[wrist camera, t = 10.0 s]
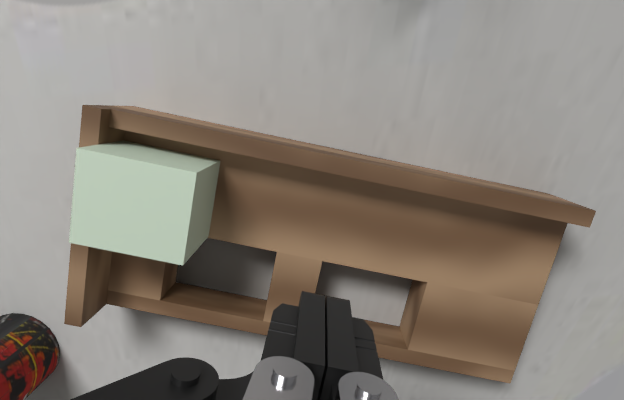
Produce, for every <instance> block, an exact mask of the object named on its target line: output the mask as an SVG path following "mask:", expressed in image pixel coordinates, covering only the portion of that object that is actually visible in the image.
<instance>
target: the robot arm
mask: <svg viewBox="0 0 624 400" xmlns="http://www.w3.org/2000/svg"><path fill="white" fill-rule="evenodd" d="M71 400H399V399H398V397H397V394H396V392H395V391H394V389H393V388H392V387H391V386H390V385H389V384H388V383H387V382H385V381H384V380H383V376H382V372H381V367H380V362H379V358H378V353H377V348H376V344H375V339H374V334H373V330H372V329H371V328H370V326H369V325H368V324H367V323H366V322H365V320H363V319H358V318H353V317H352V314H351V307H350V301H349V300H345V299H340V298H335V297H330V296H326V298H325V295H320V294H315V293H310V292H305V291H302V292H301V296H300V300H299V305H298V306H294V305H289V304H284V303H282V304H280V305H279V306H278V307H277V308H275V309H274V310H273V313H272V317H271V322H270V325H269V330H268V334H267V338H266V342H265V346H264V350H263V354H262V358H261V361H260V362H259V363H258V364H257V365H256V367H255V369H254V371H253V372H252V373H251V374H249V375H247V376H244V377H241V378H236V379H219V376H218V373H217V372H216V370H215V369H214V368H213V367H212V366H211V365H210V364H208V363H206V362H205V361H202V360H199V359H195V358H176V359H172V360H169V361H166V362H163V363H161V364H158V365H156V366H153V367H151V368H148V369H146V370H143V371H141V372H138V373H136V374H133V375H131V376H128V377H126V378H123V379H121V380H118V381H116V382H113V383H111V384H108V385H106V386H103V387H101V388H98V389H96V390H93V391H91V392H88V393H86V394H83V395H81V396H78V397H76V398H73V399H71Z"/></svg>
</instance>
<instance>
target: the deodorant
mask: <svg viewBox="0 0 624 400" xmlns="http://www.w3.org/2000/svg"><path fill="white" fill-rule="evenodd" d="M59 356H60V352H59V345H58V342H57V340H56V337H55V336H54V334H53V333H52V332H51V330H50V329H49V328H48V327H47V326H46V325H45V324H44V323H42V322H41V321H39V320H37V319H36V318H34V317H32V316H28V315H24V314H15V313H11V314H7V315H2V316H0V400H24V399H25V398H26V397H28V396H29V395H30V394H31V393H32V392H33V391H34V390H35V389H36V388H37V387H38V386H39V385H40V384H41V383H42V382H43V381H44V380H45V379H46V378H47V377H48V376H49V375H50V374H51V373H52V372H53V371H54V370H55V368H56V366H57V364H58V361H59Z"/></svg>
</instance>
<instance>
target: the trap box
mask: <svg viewBox="0 0 624 400" xmlns="http://www.w3.org/2000/svg"><path fill="white" fill-rule="evenodd" d="M118 141H129V142H133V143H138V144H143V145H148V146H153V147H157V148H162V149H167V150H172V151H177V152H181V153H186V154H191V155H196V156H201V157H206V158H210V159H215V160H220V167H219V174H218V180H217V186H216V193H215V199H214V205H213V211H212V218H211V224H210V230H209V237H208V238H211V239H216V240H221V241H226V242H231V243H236V244H241V245H246V246H251V247H255V248H260V249H265V250H270V251H275V252H277V254H276V259H275V264H274V269H273V274H272V279H271V284H270V289H269V294H268V299H267V300H263V299H258V298H253V297H248V296H243V295H238V294H233V293H228V292H223V291H218V290H213V289H208V288H203V287H198V286H193V285H188V284H183V283H178V282H176V275H177V269H178V264H173V263H168V262H163V261H158V260H153V259H148V258H143V257H138V256H133V255H128V254H123V253H118V252H113V251H108V250H103V249H98V248H93V247H88V246H83V245H78V244H73V243H71V250H70V262H69V274H68V286H67V298H66V310H65V322H64V324H68V325H73V326H78V327H82V326H83V325H84V324H85V323H86V322H87V321H88V320H89V319H90V318H91V317H93V316H94V315H95V314H96V313H97V312H98V311H99V310H100V309H101V308H102V307H104V306H105V305H106V304H110V305H115V306H120V307H125V308H130V309H135V310H140V311H146V312H151V313H156V314H161V315H166V316H171V317H176V318H181V319H186V320H191V321H196V322H201V323H206V324H212V325H217V326H222V327H227V328H232V329H237V330H242V331H247V332H252V333H257V334H262V335H267V334H268V330H269V325H270V322H271V317H272V313H273V310H274V309H275V308H277V307H278V306H279V305H280V304H282V303H284V304H289V305H294V306H298V305H299V300H300V296H301V292H302V291H305V292H310V293H315V292H316V287H317V283H318V278H319V274H320V269H321V265H322V261H324V262H329V263H334V264H339V265H344V266H349V267H354V268H359V269H364V270H369V271H374V272H379V273H384V274H389V275H393V276H398V277H403V278H408V279H413V280H412V284H411V287H410V291H409V295H408V298H407V302H406V305H405V309H404V312H403V316H402V319H401V323H400V327H398V326H393V325H388V324H383V323H378V322H373V321H368V320H365V322H366V323H367V324H368V325H369V326H370V328H371V329H372V330H373V334H374V339H375V344H376V348H377V353H378V357H379V358H384V359H389V360H394V361H399V362H404V363H409V364H414V365H419V366H425V367H430V368H435V369H440V370H445V371H450V372H455V373H460V374H465V375H470V376H475V377H480V378H485V379H491V380H496V381H501V382H506V383H511V380H512V377H513V374H514V371H515V369H516V366H517V363H518V360H519V357H520V355H521V352H522V349H523V346H524V343H525V341H526V338H527V335H528V332H529V329H530V327H531V324H532V321H533V318H534V315H535V313H536V310H537V307H538V304H539V301H540V299H541V296H542V293H543V290H544V287H545V285H546V282H547V279H548V276H549V273H550V271H551V268H552V265H553V262H554V259H555V257H556V254H557V251H558V248H559V245H560V243H561V240H562V237H563V234H564V231H565V229H566V226H567V223H571V224H576V225H580V226H585V227H590V226H591V223H592V220H593V217H594V215H595V212H596V211H594V210H592V209H589V208H586V207H583V206H581V205H578V204H575V203H572V202H570V201H567V200H564V199H561V198H559V197H556V196H553V195H550V194H547V193H543V192H538V191H533V190H528V189H524V188H519V187H514V186H509V185H505V184H500V183H495V182H490V181H486V180H481V179H476V178H471V177H467V176H462V175H457V174H452V173H448V172H443V171H438V170H433V169H429V168H424V167H419V166H414V165H410V164H405V163H400V162H396V161H391V160H386V159H381V158H377V157H372V156H367V155H362V154H358V153H353V152H348V151H343V150H339V149H334V148H329V147H324V146H320V145H315V144H310V143H305V142H301V141H296V140H291V139H286V138H282V137H277V136H272V135H267V134H263V133H258V132H253V131H248V130H244V129H239V128H234V127H229V126H225V125H220V124H215V123H210V122H206V121H201V120H196V119H191V118H187V117H182V116H177V115H172V114H168V113H163V112H158V111H153V110H149V109H144V108H139V107H134V106H102V105H83V106H82V118H81V130H80V142H79V147H85V146H92V145H98V144H105V143H111V142H118Z"/></svg>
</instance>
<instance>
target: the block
mask: <svg viewBox="0 0 624 400" xmlns="http://www.w3.org/2000/svg"><path fill="white" fill-rule="evenodd" d="M219 167H220V160H215V159H210V158H206V157H201V156H196V155H191V154H186V153H181V152H177V151H172V150H167V149H162V148H157V147H153V146H148V145H143V144H138V143H133V142H129V141H118V142H111V143H105V144H98V145H92V146H85V147H79V148H77V149H76V161H75V174H74V186H73V198H72V210H71V223H70V235H69V243H73V244H78V245H83V246H88V247H93V248H98V249H103V250H108V251H113V252H118V253H123V254H128V255H133V256H138V257H143V258H148V259H153V260H158V261H163V262H168V263H173V264H178V265H184V264H185V263H186V262H187V261H188V259H189V258H190V257H191V256H192V255H193V254H194V253H195V251H196V250H197V249H198V248H199V247H200V246H201V245H202V243H203V242H204V241H205V240H206V239H207V238H208V237H209V230H210V224H211V218H212V211H213V205H214V199H215V193H216V186H217V180H218V174H219Z"/></svg>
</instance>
